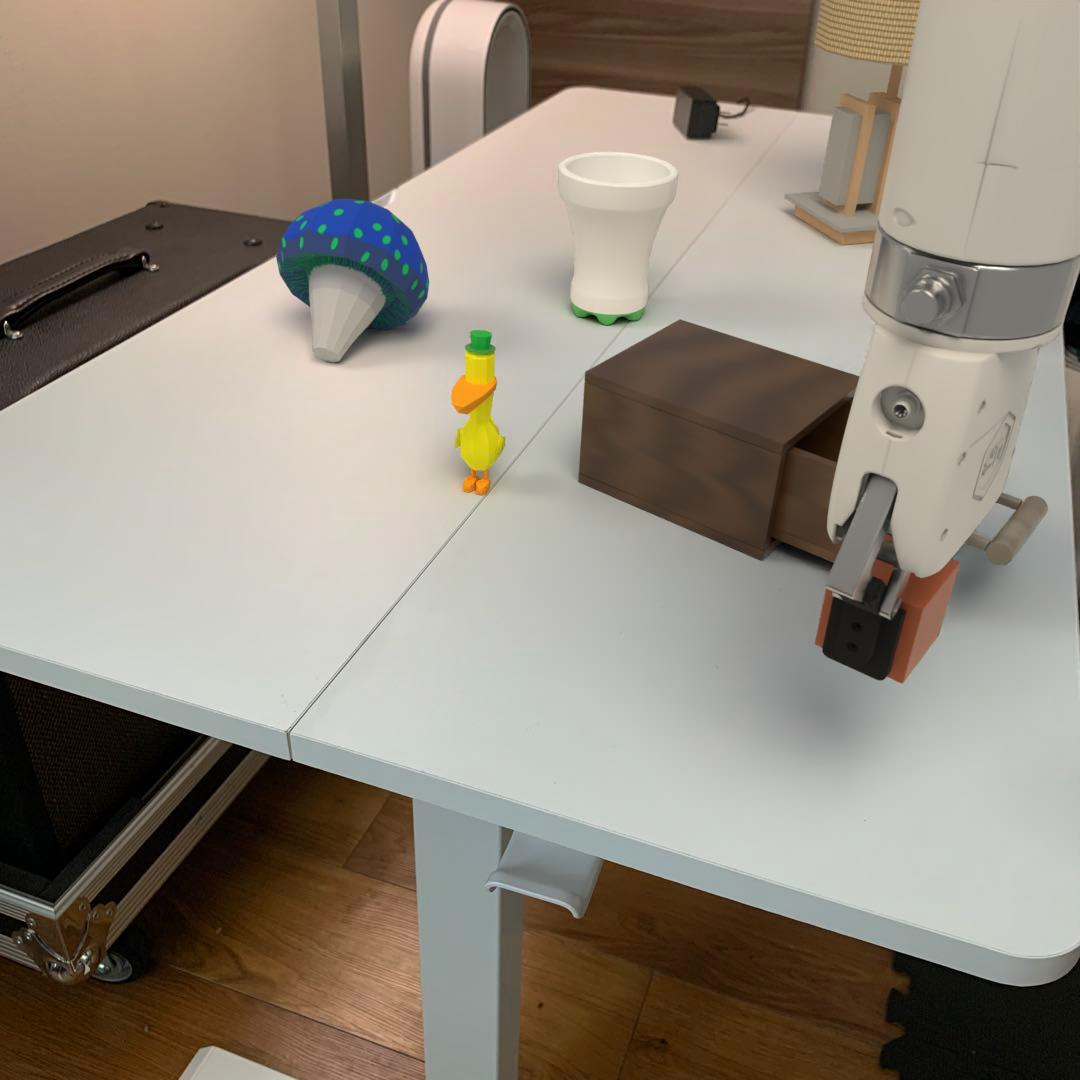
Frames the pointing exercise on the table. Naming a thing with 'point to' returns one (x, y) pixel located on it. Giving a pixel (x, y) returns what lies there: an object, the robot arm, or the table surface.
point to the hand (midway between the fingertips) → (878, 633)
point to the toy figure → (478, 411)
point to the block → (909, 613)
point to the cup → (614, 228)
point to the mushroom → (352, 271)
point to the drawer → (812, 485)
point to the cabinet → (703, 429)
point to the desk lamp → (859, 117)
